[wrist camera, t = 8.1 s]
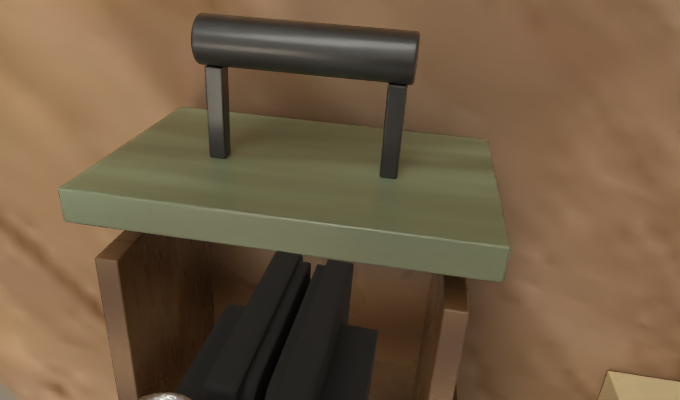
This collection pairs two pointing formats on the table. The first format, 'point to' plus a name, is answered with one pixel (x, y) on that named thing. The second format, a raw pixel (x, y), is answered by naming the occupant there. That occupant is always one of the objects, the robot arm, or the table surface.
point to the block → (638, 388)
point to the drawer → (293, 212)
